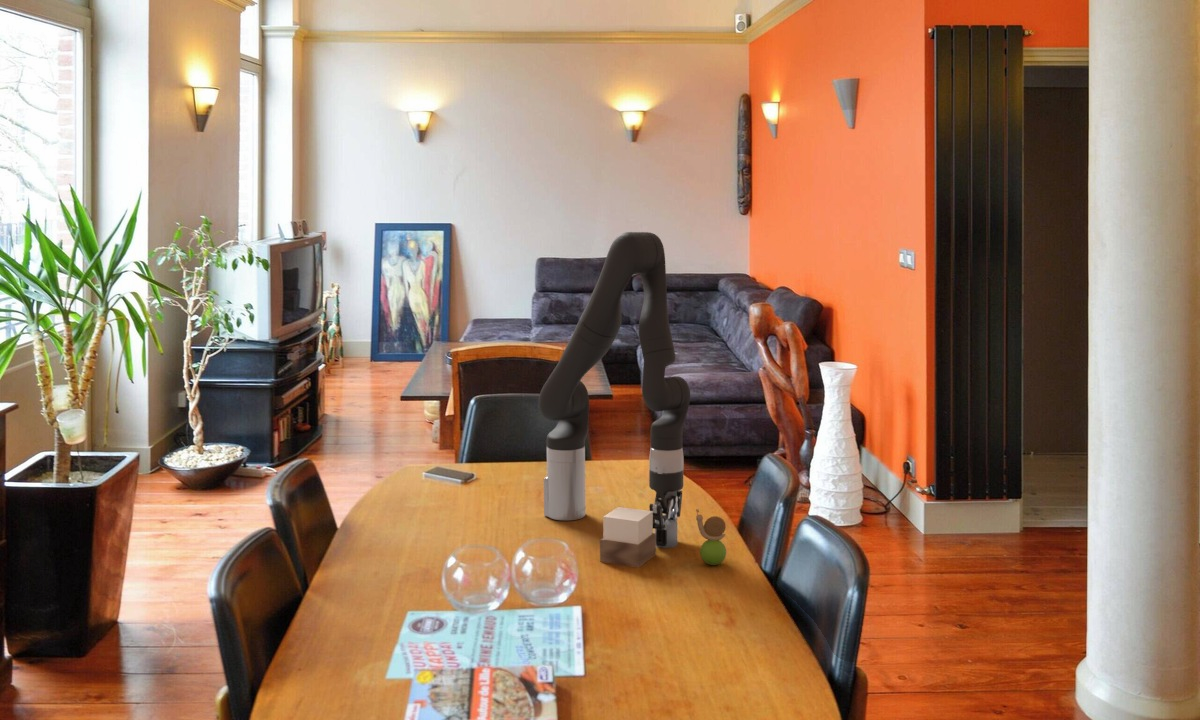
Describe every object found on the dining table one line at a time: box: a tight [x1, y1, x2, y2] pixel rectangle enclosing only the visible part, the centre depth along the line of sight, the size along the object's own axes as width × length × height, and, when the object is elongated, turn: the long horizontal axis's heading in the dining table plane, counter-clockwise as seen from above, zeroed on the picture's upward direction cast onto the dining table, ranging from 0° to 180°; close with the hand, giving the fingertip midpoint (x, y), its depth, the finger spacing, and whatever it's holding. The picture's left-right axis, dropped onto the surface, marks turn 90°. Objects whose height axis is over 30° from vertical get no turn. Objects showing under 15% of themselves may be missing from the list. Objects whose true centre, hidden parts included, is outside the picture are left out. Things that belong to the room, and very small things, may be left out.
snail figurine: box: [695, 508, 727, 566], centre depth 223 cm, size 5×6×12 cm
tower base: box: [599, 532, 657, 569], centre depth 228 cm, size 9×9×5 cm
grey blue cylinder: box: [654, 519, 678, 549], centre depth 237 cm, size 5×5×5 cm
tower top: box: [602, 506, 654, 544], centre depth 227 cm, size 8×8×5 cm
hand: (666, 541), depth 237 cm, fingers closed on grey blue cylinder, 5 cm apart
